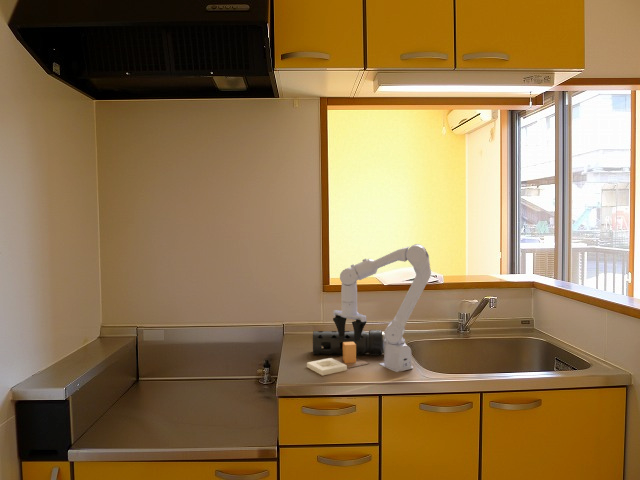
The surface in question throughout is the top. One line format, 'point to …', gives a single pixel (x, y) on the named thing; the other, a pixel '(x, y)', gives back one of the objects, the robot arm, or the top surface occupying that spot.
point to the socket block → (326, 366)
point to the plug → (349, 352)
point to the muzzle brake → (334, 344)
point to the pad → (351, 365)
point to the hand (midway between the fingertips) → (349, 338)
